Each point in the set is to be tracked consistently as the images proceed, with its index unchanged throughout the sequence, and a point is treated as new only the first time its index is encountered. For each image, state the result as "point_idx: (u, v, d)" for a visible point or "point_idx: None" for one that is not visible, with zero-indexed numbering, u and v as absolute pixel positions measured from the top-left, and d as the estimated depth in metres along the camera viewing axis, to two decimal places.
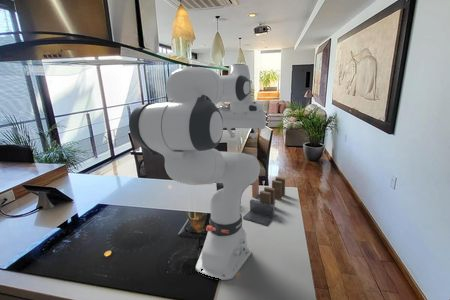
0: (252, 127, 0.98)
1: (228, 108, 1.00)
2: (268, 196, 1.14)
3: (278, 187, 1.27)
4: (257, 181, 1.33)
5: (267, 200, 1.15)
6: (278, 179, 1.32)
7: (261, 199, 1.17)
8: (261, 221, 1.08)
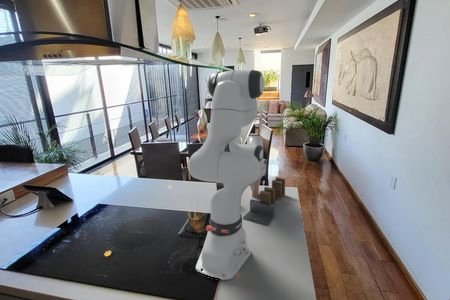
0: (262, 175, 1.35)
1: None
2: (268, 196, 1.14)
3: (278, 187, 1.27)
4: (257, 181, 1.33)
5: (267, 200, 1.15)
6: (278, 179, 1.32)
7: (261, 199, 1.17)
8: (261, 221, 1.08)
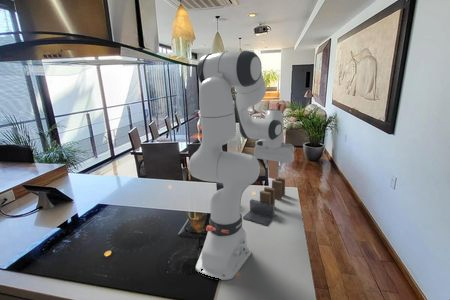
0: None
1: None
2: (268, 196, 1.14)
3: (278, 187, 1.27)
4: None
5: (267, 200, 1.15)
6: (278, 179, 1.32)
7: (261, 199, 1.17)
8: (261, 221, 1.08)
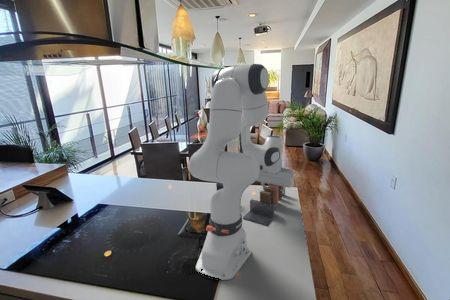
0: None
1: None
2: (268, 196, 1.14)
3: (278, 187, 1.27)
4: None
5: (267, 200, 1.15)
6: None
7: (261, 199, 1.17)
8: (261, 221, 1.08)
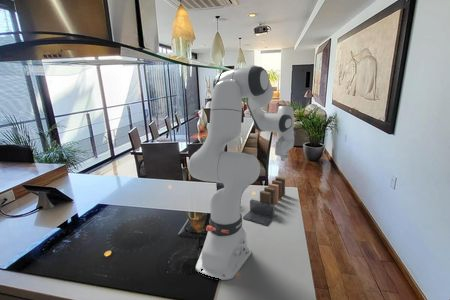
0: (290, 148, 1.36)
1: (282, 139, 1.26)
2: (268, 196, 1.14)
3: (278, 187, 1.27)
4: None
5: (267, 200, 1.15)
6: (278, 179, 1.32)
7: (261, 199, 1.17)
8: (261, 221, 1.08)
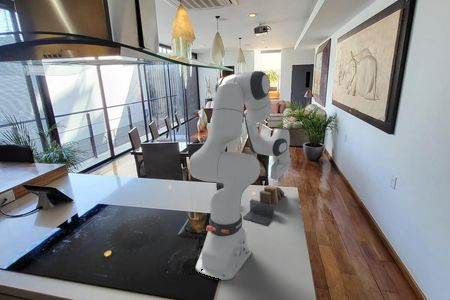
0: (286, 170, 1.34)
1: (278, 162, 1.24)
2: (268, 196, 1.14)
3: None
4: None
5: (267, 200, 1.15)
6: None
7: (261, 199, 1.17)
8: (261, 221, 1.08)
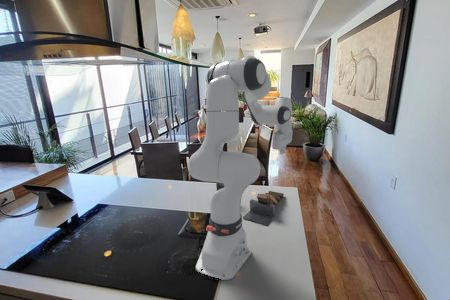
0: (288, 142, 1.31)
1: (279, 132, 1.22)
2: (266, 200, 1.12)
3: None
4: None
5: None
6: None
7: None
8: (261, 221, 1.08)
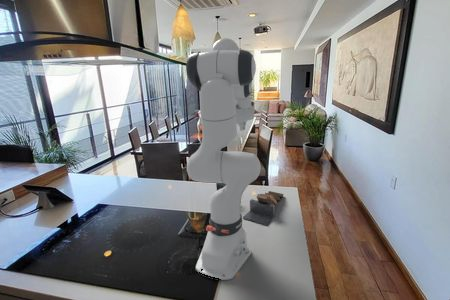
0: (249, 119, 1.30)
1: (237, 107, 1.20)
2: (265, 200, 1.12)
3: None
4: None
5: None
6: None
7: None
8: (261, 221, 1.08)
